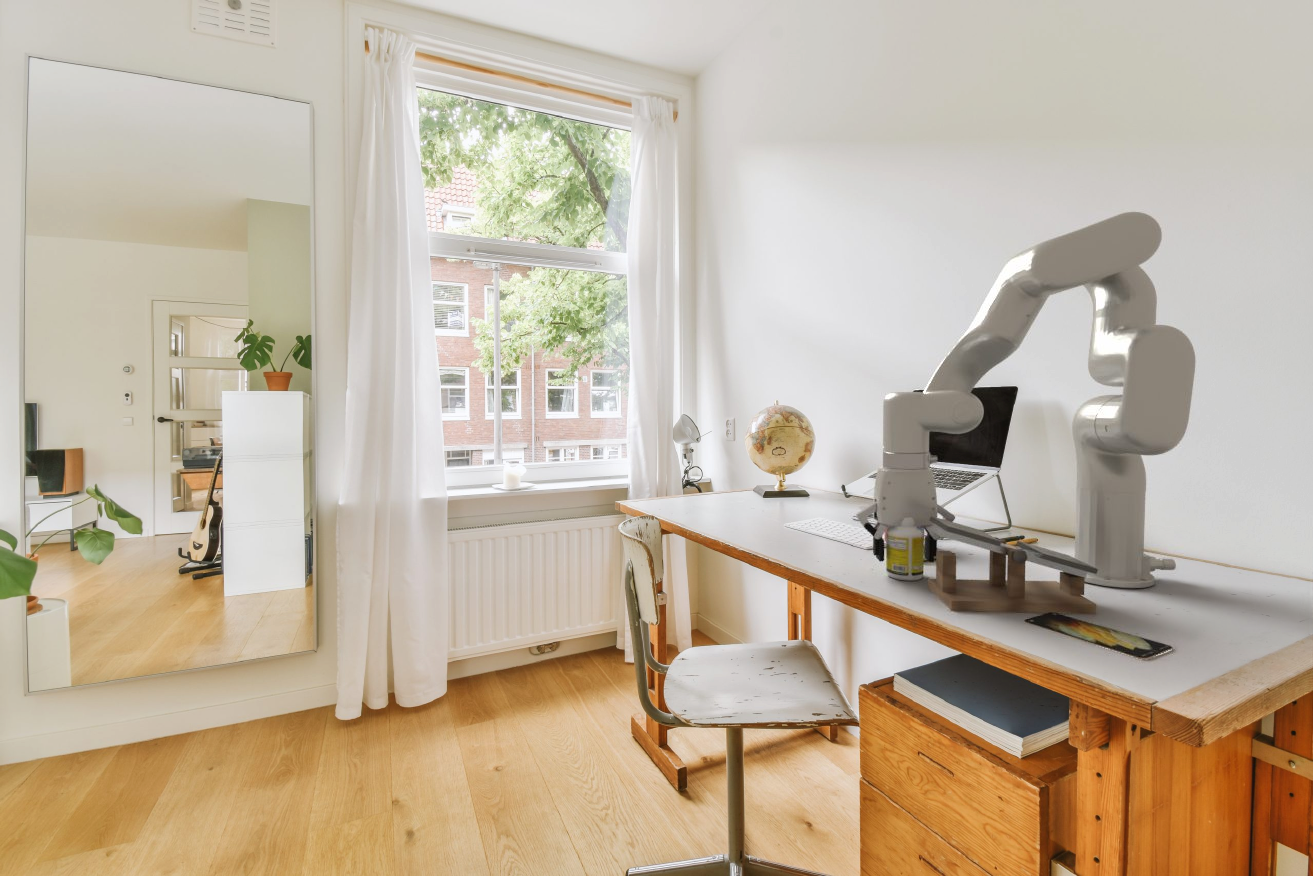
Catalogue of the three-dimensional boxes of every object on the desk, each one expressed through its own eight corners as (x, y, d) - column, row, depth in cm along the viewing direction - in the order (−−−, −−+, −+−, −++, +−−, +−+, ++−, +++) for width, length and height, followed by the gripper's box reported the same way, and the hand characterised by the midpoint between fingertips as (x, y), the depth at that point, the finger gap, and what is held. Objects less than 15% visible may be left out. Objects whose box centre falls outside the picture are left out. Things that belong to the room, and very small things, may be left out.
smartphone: (1051, 611, 89) (1175, 646, 76) (1051, 615, 89) (1175, 652, 76) (1021, 620, 86) (1145, 658, 72) (1021, 624, 86) (1144, 664, 72)
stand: (1059, 590, 99) (1060, 536, 98) (1099, 614, 88) (1101, 553, 87) (927, 587, 101) (928, 535, 101) (951, 610, 91) (952, 551, 90)
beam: (1064, 566, 97) (1068, 555, 97) (1093, 582, 89) (1098, 569, 89) (926, 527, 99) (930, 515, 99) (943, 538, 91) (947, 526, 91)
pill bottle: (916, 571, 111) (917, 511, 110) (928, 581, 105) (929, 518, 104) (881, 571, 112) (882, 511, 111) (891, 581, 105) (892, 518, 105)
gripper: (949, 459, 109) (948, 555, 111) (850, 460, 112) (850, 553, 113) (965, 464, 102) (963, 566, 103) (858, 464, 104) (858, 564, 105)
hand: (904, 559), depth 108 cm, fingers open, 7 cm apart
